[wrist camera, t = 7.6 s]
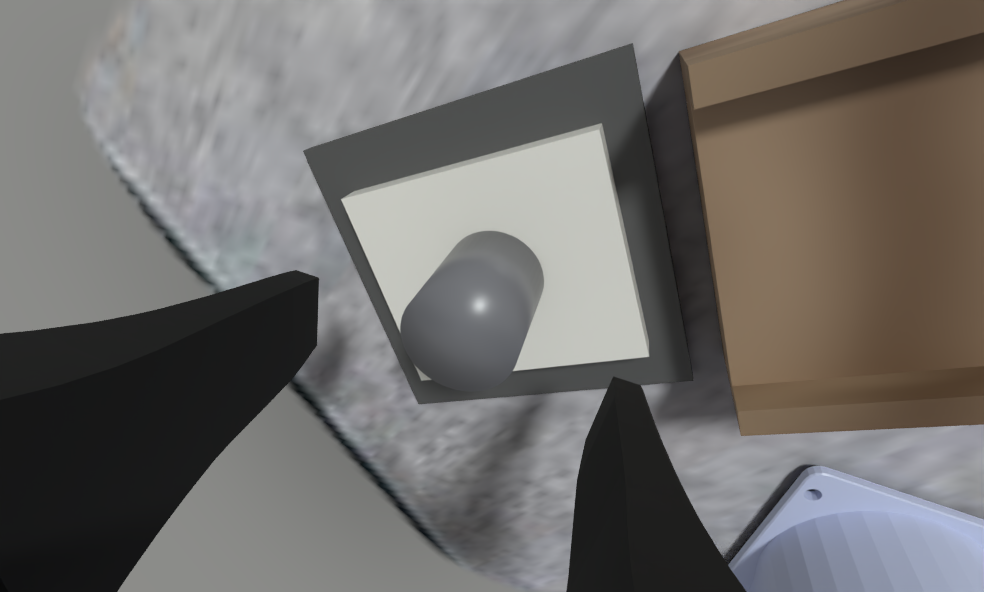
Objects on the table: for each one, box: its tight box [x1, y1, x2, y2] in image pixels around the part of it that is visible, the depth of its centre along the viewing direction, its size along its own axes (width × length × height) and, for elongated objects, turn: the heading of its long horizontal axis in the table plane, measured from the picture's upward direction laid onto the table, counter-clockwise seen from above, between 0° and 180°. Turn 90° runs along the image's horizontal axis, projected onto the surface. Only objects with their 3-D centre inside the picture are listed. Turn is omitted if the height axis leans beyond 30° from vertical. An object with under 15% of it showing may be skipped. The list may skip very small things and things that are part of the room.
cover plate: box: [341, 123, 649, 392], centre depth 14 cm, size 8×7×4 cm
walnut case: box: [679, 0, 984, 436], centre depth 11 cm, size 9×9×4 cm
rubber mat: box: [303, 43, 693, 404], centre depth 16 cm, size 10×10×1 cm
